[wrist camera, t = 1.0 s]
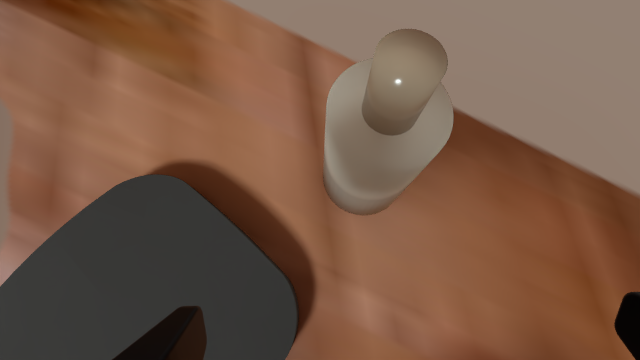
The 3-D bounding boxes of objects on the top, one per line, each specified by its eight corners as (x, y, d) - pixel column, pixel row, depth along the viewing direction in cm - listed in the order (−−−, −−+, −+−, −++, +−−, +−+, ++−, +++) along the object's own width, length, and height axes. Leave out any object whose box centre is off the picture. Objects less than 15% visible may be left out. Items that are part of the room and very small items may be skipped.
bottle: (413, 202, 22) (523, 106, 10) (337, 225, 21) (360, 153, 10) (385, 132, 23) (452, -20, 12) (313, 152, 23) (308, 14, 11)
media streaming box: (169, 162, 23) (148, 145, 20) (325, 309, 20) (326, 313, 17) (-17, 332, 20) (-74, 341, 17) (138, 538, 17) (102, 591, 14)
